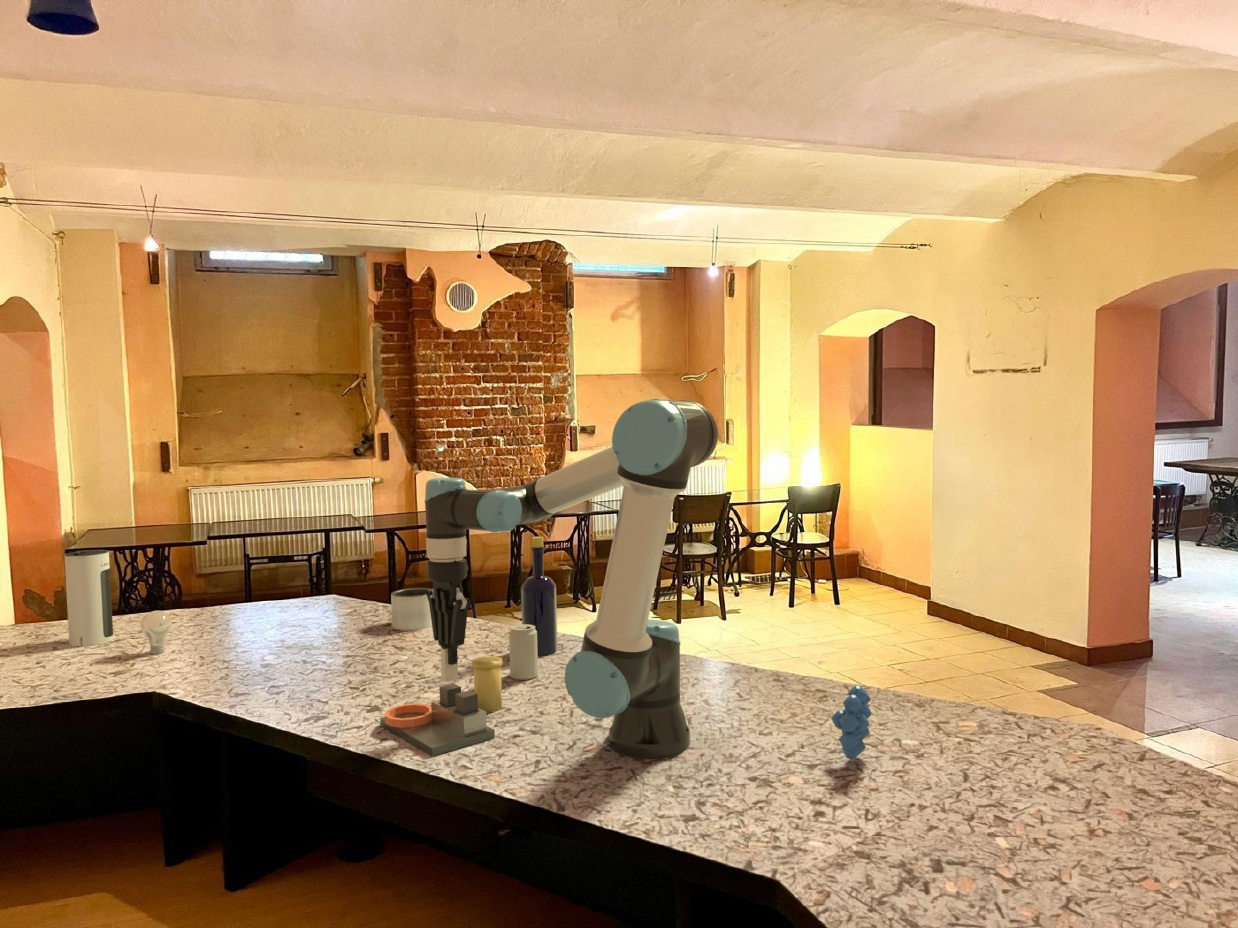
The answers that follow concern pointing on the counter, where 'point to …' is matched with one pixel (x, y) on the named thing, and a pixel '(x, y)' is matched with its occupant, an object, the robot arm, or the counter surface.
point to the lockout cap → (488, 683)
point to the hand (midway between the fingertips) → (449, 679)
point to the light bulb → (156, 630)
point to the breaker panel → (444, 729)
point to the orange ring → (408, 721)
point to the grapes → (853, 722)
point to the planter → (410, 609)
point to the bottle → (540, 603)
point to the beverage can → (523, 652)
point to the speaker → (88, 597)
